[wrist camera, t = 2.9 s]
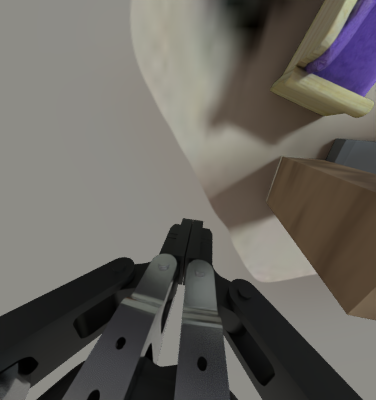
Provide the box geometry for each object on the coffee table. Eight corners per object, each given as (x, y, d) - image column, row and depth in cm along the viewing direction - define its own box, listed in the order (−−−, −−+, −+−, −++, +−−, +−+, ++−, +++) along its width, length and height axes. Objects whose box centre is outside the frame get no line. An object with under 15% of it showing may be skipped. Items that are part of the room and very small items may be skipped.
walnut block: (323, 159, 22) (618, 240, 6) (301, 206, 26) (448, 334, 10) (281, 156, 23) (444, 219, 7) (265, 201, 26) (347, 314, 10)
